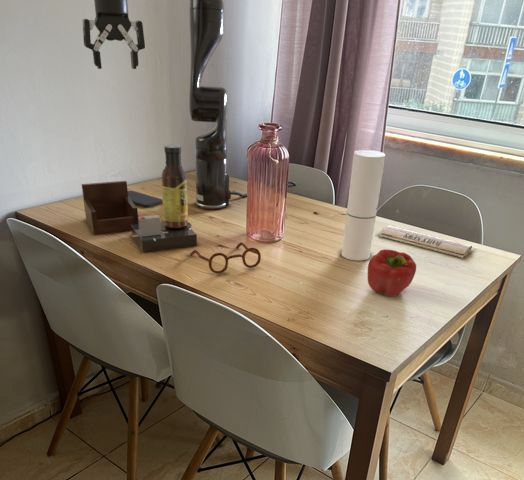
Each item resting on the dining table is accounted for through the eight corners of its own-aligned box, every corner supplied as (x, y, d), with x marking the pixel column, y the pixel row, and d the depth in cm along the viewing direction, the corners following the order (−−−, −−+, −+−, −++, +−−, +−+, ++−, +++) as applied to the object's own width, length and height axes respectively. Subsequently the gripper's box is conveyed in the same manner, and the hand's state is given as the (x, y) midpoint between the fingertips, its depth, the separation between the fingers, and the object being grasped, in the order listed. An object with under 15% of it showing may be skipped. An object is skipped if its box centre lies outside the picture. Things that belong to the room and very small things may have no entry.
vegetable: (420, 302, 118) (429, 259, 113) (375, 305, 116) (383, 261, 111) (399, 280, 127) (407, 240, 122) (357, 283, 125) (363, 241, 120)
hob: (182, 230, 150) (182, 218, 148) (198, 247, 140) (198, 235, 138) (125, 236, 144) (124, 224, 142) (137, 254, 134) (136, 242, 132)
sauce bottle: (186, 230, 140) (183, 149, 130) (162, 229, 140) (157, 148, 130) (189, 221, 146) (187, 143, 135) (166, 220, 146) (162, 142, 135)
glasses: (210, 276, 125) (209, 256, 122) (189, 255, 135) (188, 236, 132) (261, 267, 130) (262, 247, 128) (237, 248, 140) (238, 229, 137)
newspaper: (471, 250, 146) (472, 243, 145) (462, 258, 141) (464, 251, 140) (389, 229, 157) (390, 223, 156) (378, 236, 152) (379, 230, 151)
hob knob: (159, 231, 139) (157, 213, 136) (161, 234, 138) (160, 216, 135) (139, 234, 137) (138, 215, 135) (141, 236, 136) (140, 218, 133)
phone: (130, 190, 175) (164, 199, 168) (131, 192, 176) (164, 202, 168) (112, 195, 170) (146, 205, 163) (113, 197, 171) (146, 208, 163)
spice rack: (128, 215, 158) (125, 180, 152) (139, 229, 148) (136, 192, 143) (86, 219, 153) (81, 184, 148) (94, 234, 144) (89, 196, 139)
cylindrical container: (371, 252, 141) (387, 152, 128) (366, 262, 136) (382, 158, 122) (344, 247, 143) (357, 148, 130) (338, 257, 137) (351, 154, 124)
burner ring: (185, 219, 148) (185, 218, 148) (196, 229, 141) (196, 229, 141) (153, 222, 145) (153, 221, 145) (162, 233, 138) (162, 233, 138)
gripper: (81, -12, 121) (90, 70, 130) (144, -8, 127) (149, 70, 135) (75, -12, 127) (84, 67, 136) (136, -8, 132) (141, 67, 141)
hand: (117, 68), depth 136 cm, fingers open, 8 cm apart
